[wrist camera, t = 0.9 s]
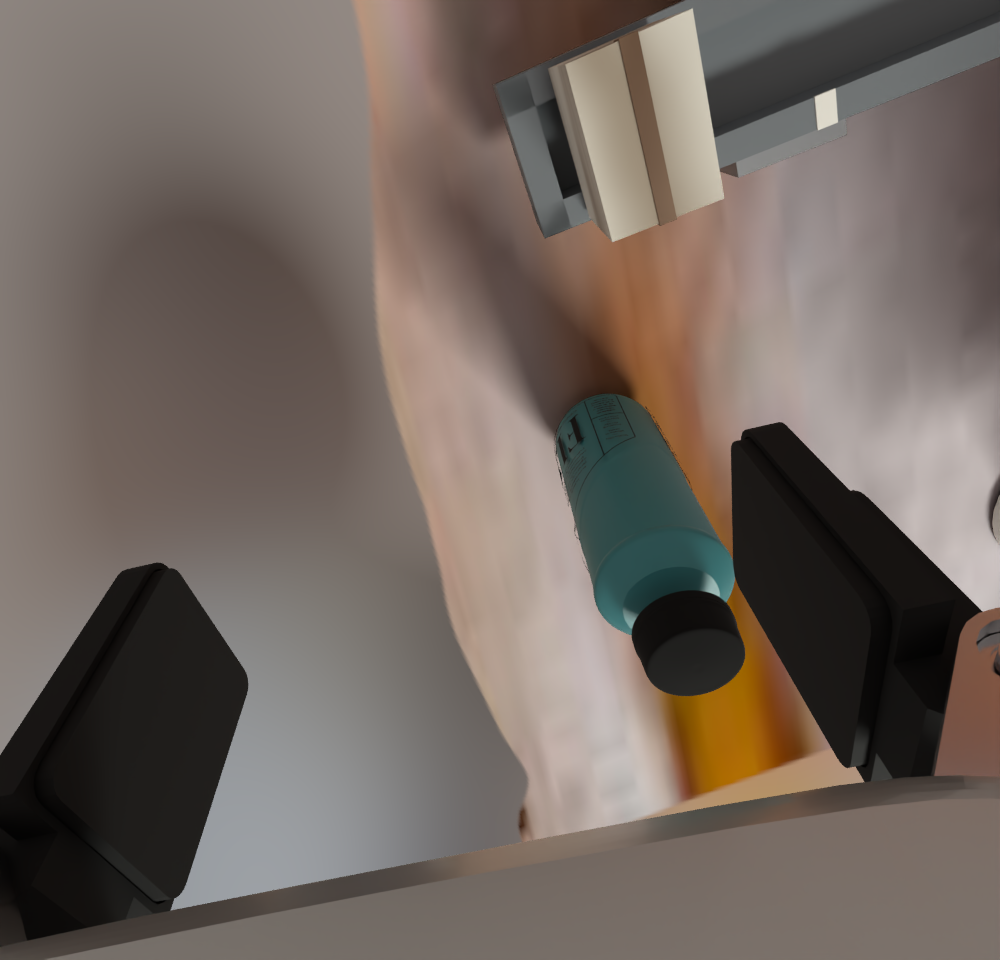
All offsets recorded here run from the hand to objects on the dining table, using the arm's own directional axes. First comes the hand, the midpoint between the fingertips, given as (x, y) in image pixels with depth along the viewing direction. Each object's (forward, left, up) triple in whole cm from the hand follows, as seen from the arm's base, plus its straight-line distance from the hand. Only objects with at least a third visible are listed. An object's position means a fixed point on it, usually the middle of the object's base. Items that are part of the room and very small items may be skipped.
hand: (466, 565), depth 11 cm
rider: (-8, -3, -22) cm, 23 cm away
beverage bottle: (-4, +14, -28) cm, 32 cm away
